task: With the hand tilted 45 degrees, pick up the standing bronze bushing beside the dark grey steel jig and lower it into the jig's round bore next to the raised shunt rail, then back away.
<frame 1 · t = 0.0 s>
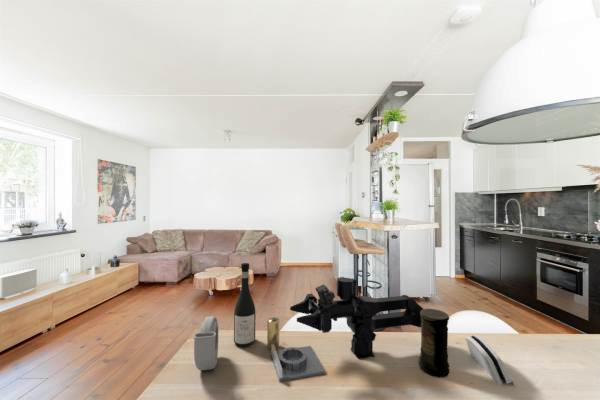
hand: (293, 313, 91), 17 cm above the table, tool horizontal, fingers open, 9 cm apart
bushing: (273, 346, 101), on the table
jig: (297, 363, 91), on the table
grey curved piece: (486, 369, 89), on the table
grey curved holder: (208, 366, 89), on the table
container: (433, 369, 88), on the table
wine bottle: (244, 342, 104), on the table
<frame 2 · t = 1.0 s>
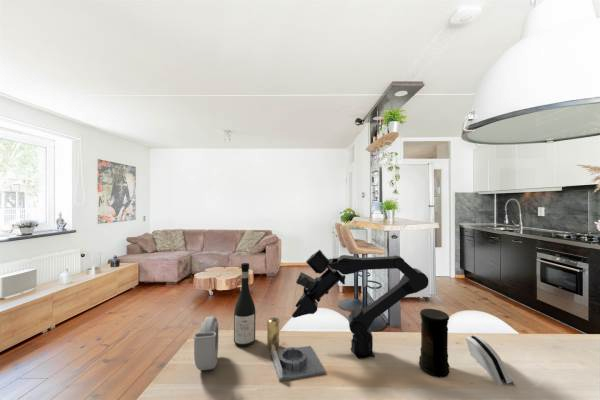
hand: (294, 311, 100), 14 cm above the table, tool tilted 45°, fingers open, 9 cm apart
nothing on the table moved.
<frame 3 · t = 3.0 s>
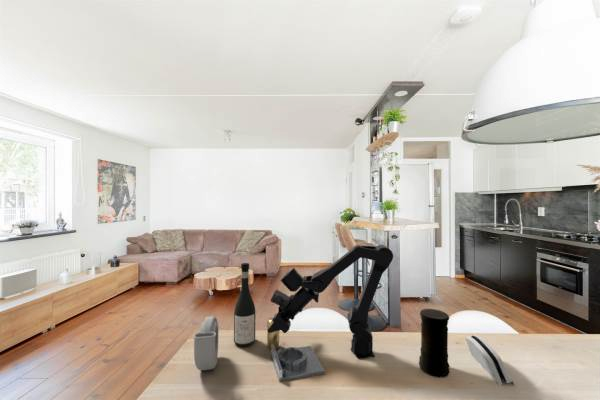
hand: (269, 328, 101), 7 cm above the table, tool tilted 45°, fingers closed on bushing, 4 cm apart
bushing: (273, 346, 101), on the table, touching gripper
everything else where it was.
when the fingers open (8 cm above the table, at t = 6.6 s): bushing stays where it is, resting on jig.
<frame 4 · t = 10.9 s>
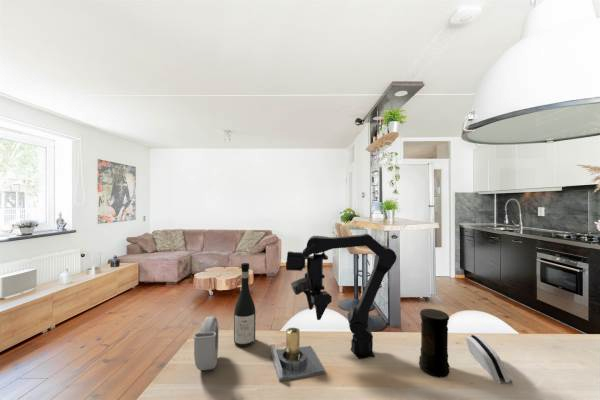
hand: (314, 314, 99), 13 cm above the table, tool pointing down, fingers open, 9 cm apart
bushing: (292, 360, 91), point 1 cm above the table, touching jig
everything else where it was.
at the end: bushing 0.1 cm from the target spot on the jig, point 1.0 cm above the jig's base; bushing tilted 0°; the gripper is holding nothing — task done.
